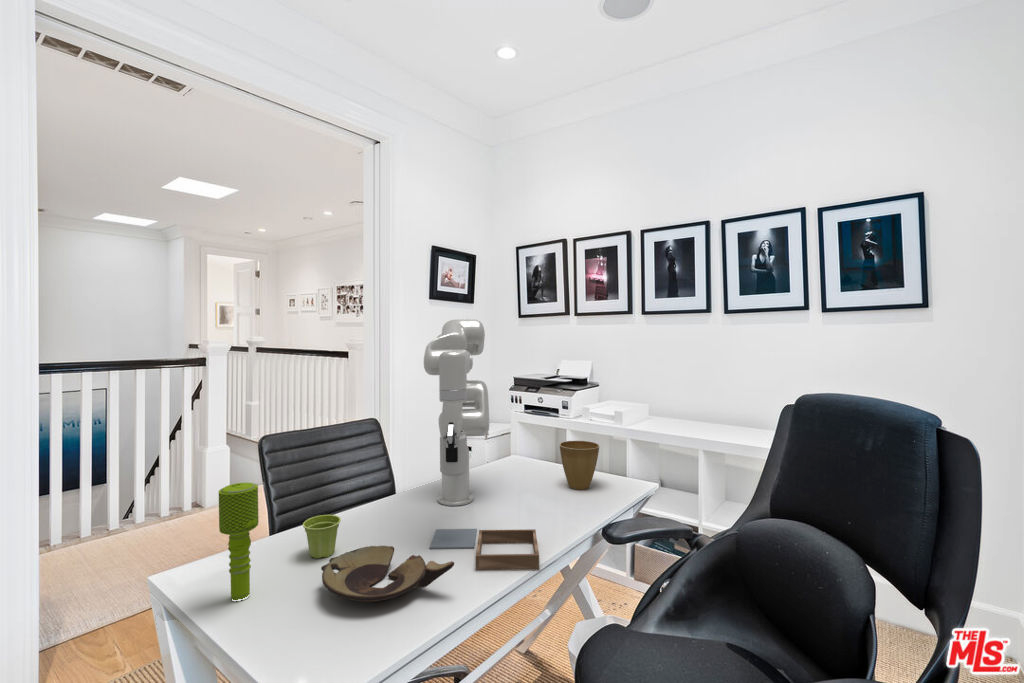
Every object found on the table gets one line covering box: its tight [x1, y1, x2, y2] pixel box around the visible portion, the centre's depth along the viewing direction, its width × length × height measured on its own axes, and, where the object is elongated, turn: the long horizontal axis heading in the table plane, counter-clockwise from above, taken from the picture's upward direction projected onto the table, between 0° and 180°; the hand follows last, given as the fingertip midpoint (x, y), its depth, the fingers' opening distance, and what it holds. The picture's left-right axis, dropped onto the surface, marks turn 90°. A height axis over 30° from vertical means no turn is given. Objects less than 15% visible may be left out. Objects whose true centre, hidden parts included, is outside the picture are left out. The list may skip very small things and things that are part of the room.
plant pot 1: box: [302, 514, 342, 559], centre depth 129 cm, size 9×9×9 cm
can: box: [439, 430, 468, 476], centre depth 137 cm, size 8×8×12 cm
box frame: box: [475, 528, 540, 571], centre depth 127 cm, size 16×16×4 cm
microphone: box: [218, 482, 259, 600], centre depth 108 cm, size 8×8×25 cm
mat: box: [429, 528, 478, 550], centre depth 137 cm, size 12×12×1 cm
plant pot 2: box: [559, 440, 600, 491], centre depth 182 cm, size 15×15×16 cm
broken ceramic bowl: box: [320, 545, 455, 602], centre depth 110 cm, size 22×30×8 cm
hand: (453, 457), depth 137 cm, fingers closed on can, 7 cm apart
